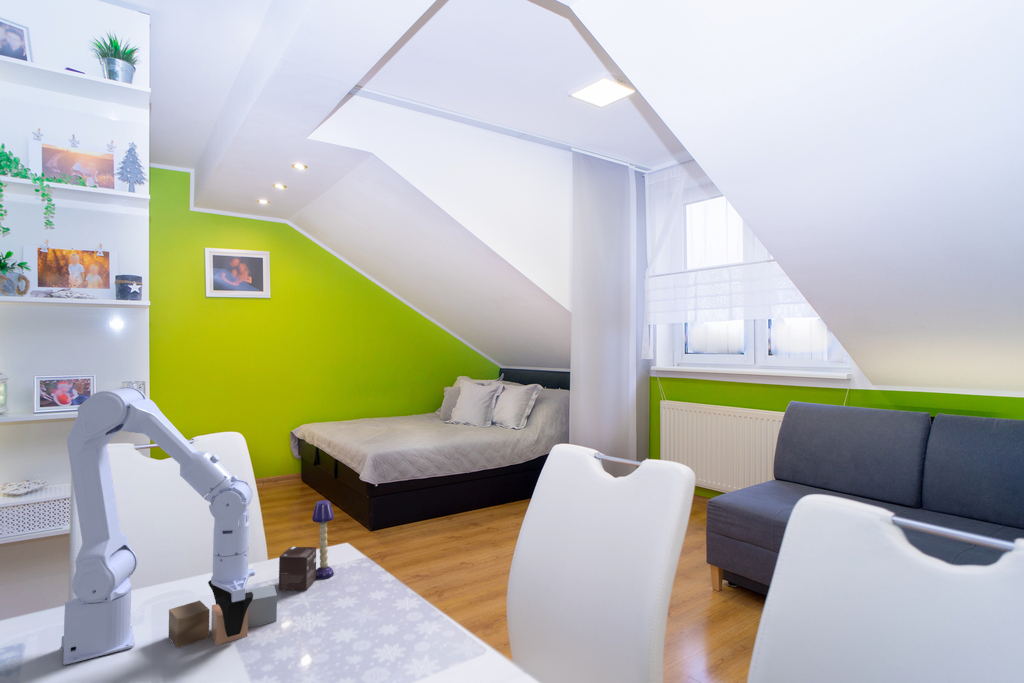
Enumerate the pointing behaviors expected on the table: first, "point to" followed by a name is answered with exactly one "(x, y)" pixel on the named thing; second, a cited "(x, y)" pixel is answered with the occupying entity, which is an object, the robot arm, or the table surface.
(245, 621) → the terracotta block
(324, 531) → the toy lamp
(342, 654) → the table surface
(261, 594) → the slate block
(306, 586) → the box
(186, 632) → the walnut block
